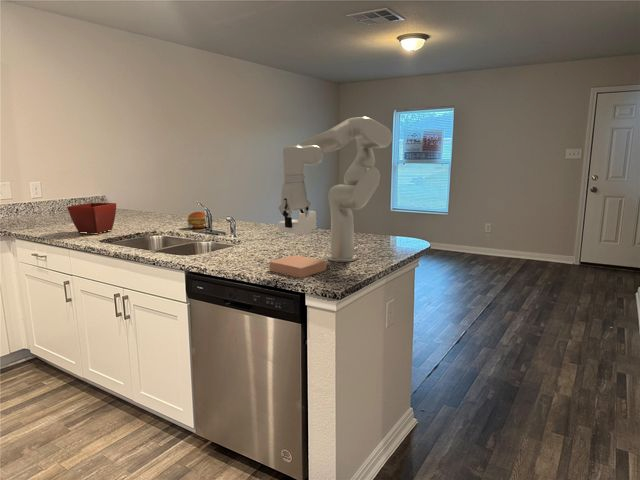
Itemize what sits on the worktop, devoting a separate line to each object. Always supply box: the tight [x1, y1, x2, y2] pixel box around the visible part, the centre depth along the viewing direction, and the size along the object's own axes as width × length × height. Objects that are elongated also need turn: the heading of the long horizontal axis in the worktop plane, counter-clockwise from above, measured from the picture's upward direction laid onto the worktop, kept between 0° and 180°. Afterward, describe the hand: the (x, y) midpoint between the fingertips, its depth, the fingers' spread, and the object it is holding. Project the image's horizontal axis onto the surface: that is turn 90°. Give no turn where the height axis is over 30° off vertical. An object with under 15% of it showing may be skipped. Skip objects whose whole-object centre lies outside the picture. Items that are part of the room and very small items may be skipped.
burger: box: [187, 211, 206, 230], centre depth 276 cm, size 13×14×10 cm
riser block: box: [268, 254, 327, 278], centre depth 173 cm, size 14×17×4 cm
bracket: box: [278, 210, 317, 235], centre depth 170 cm, size 13×7×8 cm, turn 52°
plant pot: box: [66, 202, 117, 233], centre depth 263 cm, size 19×19×17 cm
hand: (295, 225), depth 170 cm, fingers closed on bracket, 7 cm apart
